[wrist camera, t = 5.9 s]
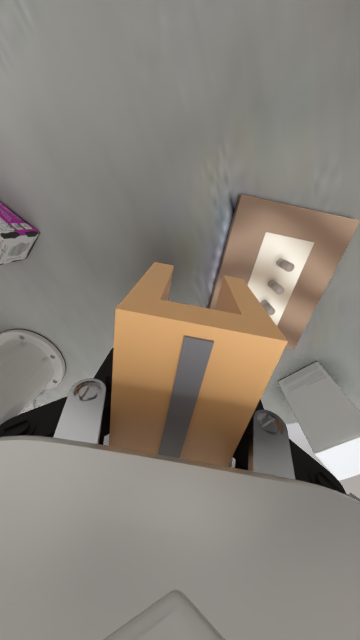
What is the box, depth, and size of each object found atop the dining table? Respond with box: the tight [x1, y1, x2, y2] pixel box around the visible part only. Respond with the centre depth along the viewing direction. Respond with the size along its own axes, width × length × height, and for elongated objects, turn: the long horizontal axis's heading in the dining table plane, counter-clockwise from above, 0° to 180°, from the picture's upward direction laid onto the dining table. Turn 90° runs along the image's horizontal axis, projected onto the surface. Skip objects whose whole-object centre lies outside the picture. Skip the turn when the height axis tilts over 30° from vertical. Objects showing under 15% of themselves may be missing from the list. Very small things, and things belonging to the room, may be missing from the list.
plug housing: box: [109, 262, 288, 467], centre depth 10 cm, size 10×5×6 cm, turn 170°
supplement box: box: [278, 361, 360, 480], centre depth 31 cm, size 7×7×13 cm
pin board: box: [208, 194, 360, 349], centre depth 28 cm, size 18×14×4 cm
